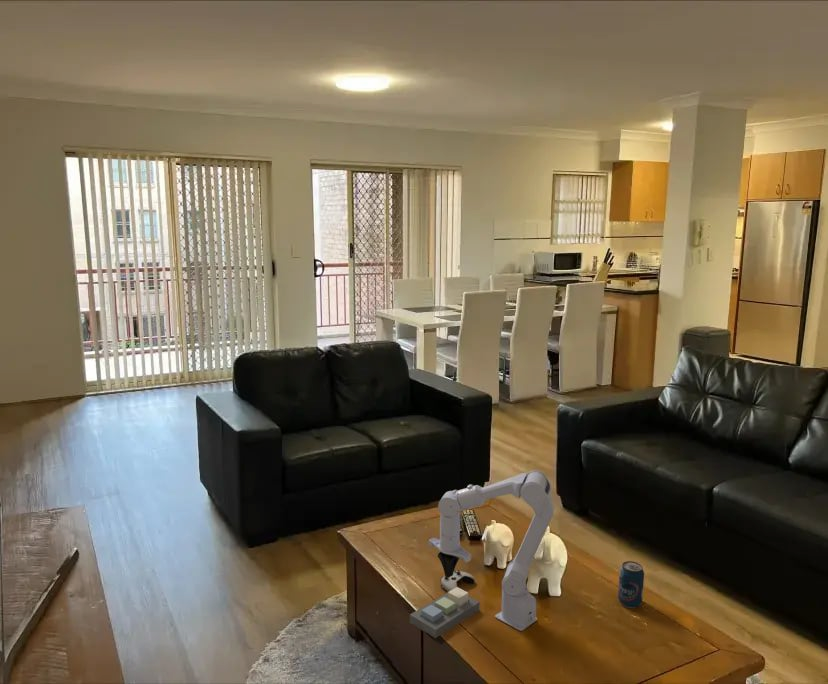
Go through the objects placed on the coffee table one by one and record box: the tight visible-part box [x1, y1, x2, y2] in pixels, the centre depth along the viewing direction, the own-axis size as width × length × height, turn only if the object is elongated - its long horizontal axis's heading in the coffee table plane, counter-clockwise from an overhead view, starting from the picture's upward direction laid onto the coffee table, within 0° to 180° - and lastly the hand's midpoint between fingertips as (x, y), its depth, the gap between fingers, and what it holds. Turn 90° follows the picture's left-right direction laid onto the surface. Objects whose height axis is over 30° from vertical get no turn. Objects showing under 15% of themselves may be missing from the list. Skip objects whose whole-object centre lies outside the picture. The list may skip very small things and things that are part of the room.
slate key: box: [421, 605, 443, 623], centre depth 190 cm, size 4×4×4 cm
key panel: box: [409, 592, 481, 639], centre depth 194 cm, size 10×19×3 cm, turn 135°
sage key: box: [435, 597, 456, 615], centre depth 194 cm, size 4×4×4 cm
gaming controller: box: [440, 569, 476, 593], centre depth 210 cm, size 11×6×7 cm
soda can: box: [617, 560, 645, 609], centre depth 201 cm, size 7×7×12 cm
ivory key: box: [447, 586, 469, 607], centre depth 198 cm, size 4×4×4 cm
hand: (449, 575), depth 198 cm, fingers closed
